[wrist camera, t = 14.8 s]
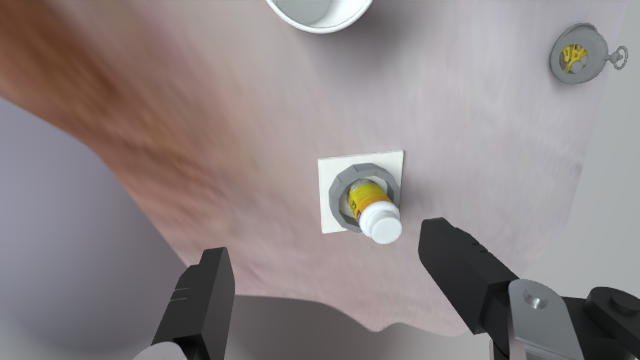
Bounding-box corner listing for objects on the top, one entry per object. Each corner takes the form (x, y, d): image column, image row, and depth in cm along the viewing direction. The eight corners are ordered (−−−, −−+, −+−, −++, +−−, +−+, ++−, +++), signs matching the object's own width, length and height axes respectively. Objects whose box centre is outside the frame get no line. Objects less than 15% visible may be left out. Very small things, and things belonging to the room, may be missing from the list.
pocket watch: (597, 46, 39) (694, 42, 30) (550, 93, 41) (628, 103, 32) (575, 3, 36) (675, -15, 27) (525, 56, 38) (603, 56, 29)
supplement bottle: (340, 186, 41) (360, 223, 32) (373, 172, 41) (403, 205, 32) (351, 214, 43) (372, 255, 34) (382, 201, 43) (412, 239, 34)
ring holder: (317, 158, 39) (321, 166, 36) (401, 149, 41) (411, 157, 38) (321, 230, 45) (325, 243, 42) (395, 220, 46) (404, 232, 43)
